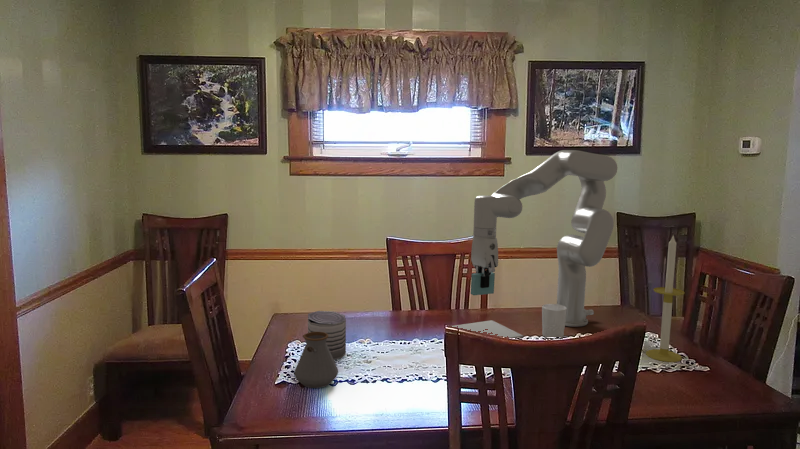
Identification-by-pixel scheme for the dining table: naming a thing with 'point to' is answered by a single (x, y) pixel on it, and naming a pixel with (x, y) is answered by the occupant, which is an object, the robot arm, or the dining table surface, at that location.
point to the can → (330, 330)
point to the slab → (476, 284)
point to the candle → (667, 310)
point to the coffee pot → (316, 362)
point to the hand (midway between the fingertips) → (482, 286)
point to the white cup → (553, 320)
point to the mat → (490, 328)
